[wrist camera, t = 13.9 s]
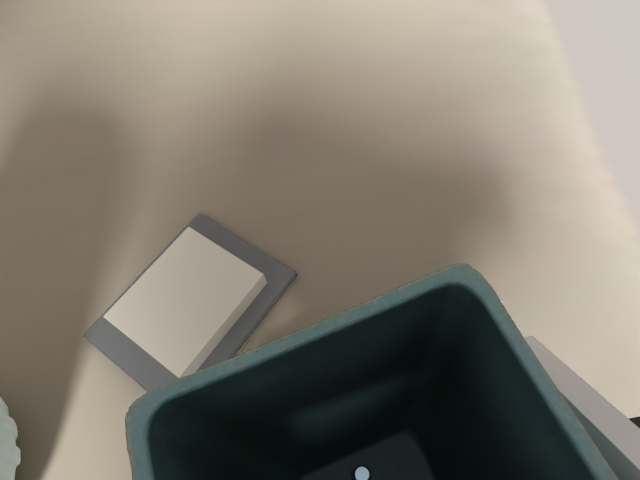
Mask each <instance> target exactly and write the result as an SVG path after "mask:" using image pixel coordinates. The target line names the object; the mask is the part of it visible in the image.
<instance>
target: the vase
mask: <svg viewBox="0 0 640 480" xmlns="http://www.w3.org/2000/svg"><path fill="white" fill-rule="evenodd" d="M17 437H18V430H17V426H16V423H15V421H14V420H13V418H11V417H9V412H8V407H7V405H6V404H5V402H4V401H3V400H2V398H1V397H0V480H14V479H15V471H16V467H17V466H18V465H19V464H20V461H21V450H20V449H19V448H18V447H17V446H16V442H15V441H16V439H17Z"/></svg>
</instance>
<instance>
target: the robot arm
mask: <svg viewBox="0 0 640 480" xmlns="http://www.w3.org/2000/svg"><path fill="white" fill-rule="evenodd" d="M524 339H525V340H526V342H527V343H528V345H529V346H530V348H531V349H532V350H533V352H534V354H535V355H536V357H537V359H538V360H539V362H540V363H541V364H542V366H543V368H544V369H545V371H546V372H547V373H548V375H549V376H550V378H551V379H552V381H553V382H554V384H555V385H556V387H557V388H558V390H559V391H560V393H561V394H562V396H563V397H564V399H565V401H566V402H567V403H568V404H569V406H570V407H571V409H572V411H573V412H574V414H575V415H576V417H577V418H578V419H579V421H580V422H581V424H582V425H583V427H584V428H585V430H586V431H587V433H588V434H589V436H590V437H591V439H592V440H593V442H594V443H595V445H596V446H597V447H598V449H599V451H600V452H601V454H602V456H603V457H604V459H605V460H606V461H607V463H608V464H609V466H610V467H611V469H612V470H613V472H614V473H615V475H616V476H617V478H618V479H619V480H640V417H635V418H630V419H628V418H627V417H626V416H625V415H623V414H622V413H621V412H620V411H619V410H618V409H616V408H615V407H614V406H613V405H612V404H611V403H610V402H608V401H607V400H606V399H605V398H604V397H603V396H601V395H600V394H599V393H598V392H597V391H596V390H594V389H593V388H592V387H591V386H590V385H589V384H588V383H586V382H585V381H584V380H583V379H582V378H581V377H579V376H578V375H577V374H576V373H575V372H574V371H573V370H571V369H570V368H569V367H568V366H567V365H566V364H564V363H563V362H562V361H561V360H560V359H559V358H557V357H556V356H555V355H554V354H553V353H552V352H551V351H549V350H548V349H547V348H546V347H545V346H544V345H542V344H541V343H540V342H539V341H538V340H537V339H536V338H534V337H533V336H529V337H524Z"/></svg>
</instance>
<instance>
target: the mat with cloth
mask: <svg viewBox="0 0 640 480" xmlns="http://www.w3.org/2000/svg"><path fill="white" fill-rule="evenodd" d="M296 275H297V274H296V272H295V271H294V270H292V269H290V268H289V267H287V266H285V265H284V264H282V263H280V262H279V261H277V260H276V259H274V258H272V257H271V256H269V255H267V254H266V253H264V252H262V251H261V250H259V249H258V248H256V247H254V246H253V245H251V244H249V243H248V242H246V241H244V240H243V239H241V238H240V237H238V236H236V235H235V234H233V233H231V232H230V231H228V230H227V229H225V228H223V227H222V226H220V225H218V224H217V223H215V222H213V221H212V220H210V219H209V218H207V217H205V216H204V215H202V214H200V213H199V214H198V215H197V216H196V217H195V218H194V219H193V220H192V221H191V222H190V223H189V224H188V225H187V226H186V227H185V228H184V230H183V231H182V232H181V233H180V234H179V235H178V236H177V237H176V238H175V239H174V240H173V241H172V242H171V243H170V244H169V245H168V246H167V247H166V248H165V249H164V251H163V252H162V253H161V254H160V255H159V256H158V257H157V258H156V259H155V260H154V261H153V262H152V263H151V264H150V265H149V266H148V267H147V268H146V269H145V270H144V272H143V273H142V274H141V275H140V276H139V277H138V278H137V279H136V280H135V281H134V282H133V283H132V284H131V285H130V286H129V287H128V288H127V289H126V290H125V291H124V293H123V294H122V295H121V296H120V297H119V298H118V299H117V300H116V301H115V302H114V303H113V304H112V305H111V306H110V307H109V308H108V309H107V310H106V311H105V313H104V314H103V315H102V316H101V317H100V318H99V319H98V320H97V321H96V322H95V323H94V324H93V325H92V326H91V327H90V328H89V329H88V330H87V331H86V332H85V334H84V335H83V337H85V338H86V339H87V340H88V341H89V342H91V343H92V344H93V345H94V346H95V347H96V348H98V349H99V350H100V351H101V352H102V353H103V354H105V355H106V356H107V357H108V358H109V359H110V360H112V361H113V362H114V363H115V364H116V365H117V366H119V367H120V368H121V369H122V370H123V371H125V372H126V373H127V374H128V375H129V376H130V377H132V378H133V379H134V380H135V381H136V382H137V383H139V384H140V385H141V386H142V387H143V388H144V389H146V390H147V391H148V392H149V391H151V390H153V389H154V388H156V387H158V386H161V385H164V384H166V383H169V382H171V381H174V380H176V379H179V378H181V377H184V376H188V375H191V374H193V373H196V372H198V371H200V370H203V369H206V368H208V367H211V366H213V365H216V364H219V363H221V362H223V361H225V360H228V359H230V358H232V357H233V356H234V355H235V353H236V352H237V351H238V349H239V348H240V347H241V346H242V344H243V343H244V342H245V341H246V339H247V338H248V337H249V335H250V334H251V333H252V332H253V330H254V329H255V328H256V326H257V325H258V324H259V323H260V321H261V320H262V319H263V317H264V316H265V315H266V314H267V312H268V311H269V310H270V309H271V307H272V306H273V305H274V303H275V302H276V301H277V300H278V298H279V297H280V296H281V294H282V293H283V292H284V291H285V289H286V288H287V287H288V286H289V284H290V283H291V282H292V280H293V279H294V278H295V277H296Z"/></svg>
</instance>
